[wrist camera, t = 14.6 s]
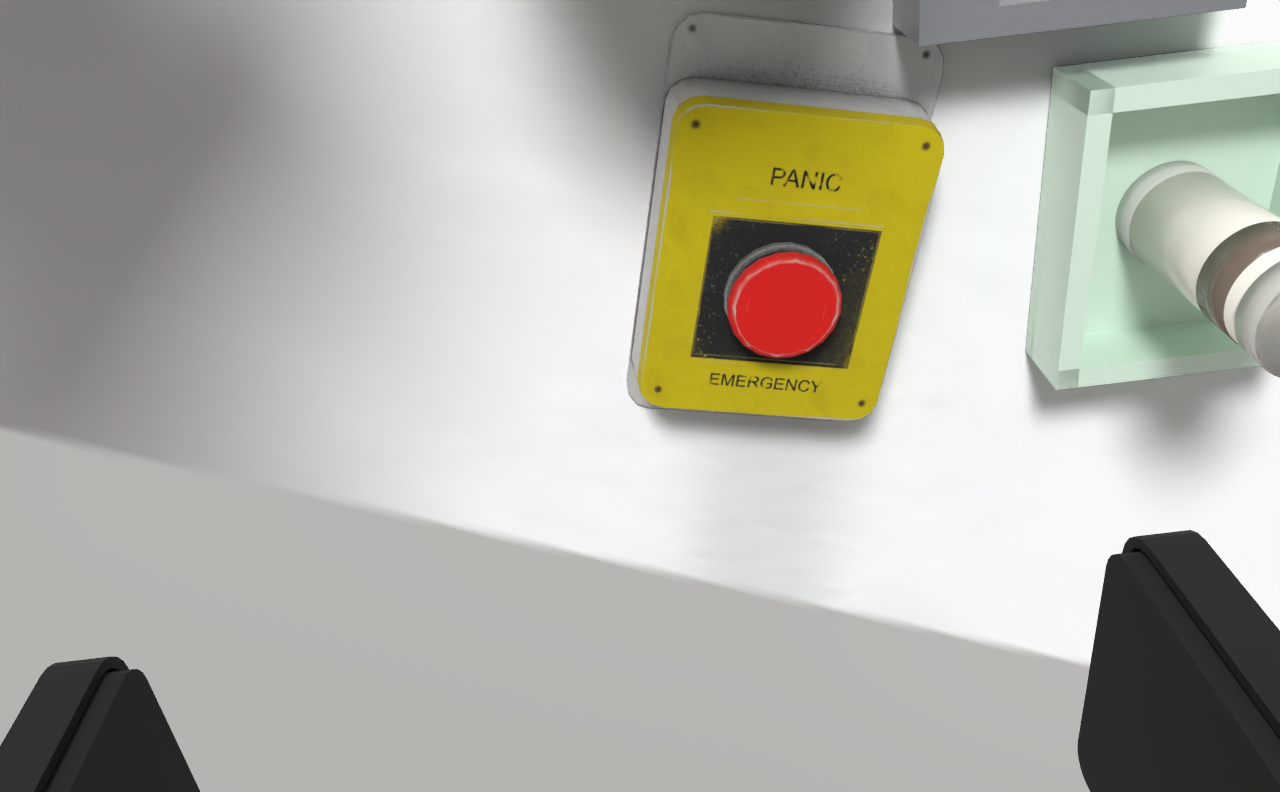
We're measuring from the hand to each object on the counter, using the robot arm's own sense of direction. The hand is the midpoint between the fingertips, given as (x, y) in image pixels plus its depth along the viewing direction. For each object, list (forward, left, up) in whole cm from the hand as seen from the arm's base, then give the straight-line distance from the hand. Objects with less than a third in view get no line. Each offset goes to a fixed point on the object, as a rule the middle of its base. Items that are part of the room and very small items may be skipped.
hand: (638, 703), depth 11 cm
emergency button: (+8, +6, -29) cm, 31 cm away
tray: (+8, +20, -28) cm, 36 cm away
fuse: (+8, +20, -28) cm, 35 cm away
